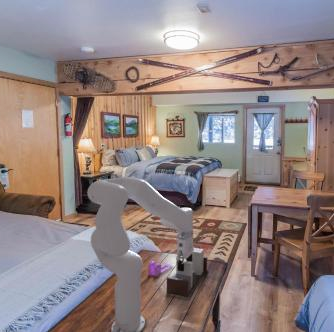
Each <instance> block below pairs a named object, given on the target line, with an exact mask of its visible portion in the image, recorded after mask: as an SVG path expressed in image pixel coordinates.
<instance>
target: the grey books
mask: <svg viewBox="0 0 334 332" xmlns="http://www.w3.org/2000/svg"><path fill="white" fill-rule="evenodd" d="M171 277H173V278H178V279H184V280H189V291H190V290H191V276H186V275H181V274H176V273H174V274H173V275H172V276H171ZM195 279H196V271H195V270H193V282H192V286H194V285H195Z"/></svg>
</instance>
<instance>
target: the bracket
mask: <svg viewBox="0 0 334 332" xmlns="http://www.w3.org/2000/svg"><path fill="white" fill-rule="evenodd" d="M171 268H172V265H171V264H170V263H164V264H161V263H157V262H156V261H153V260H151V261H150V262H149V263H148V276H149V277H153V276H155V277H157V276H159V275H161V274H163V273H164V272H167V270H169V269H171Z"/></svg>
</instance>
